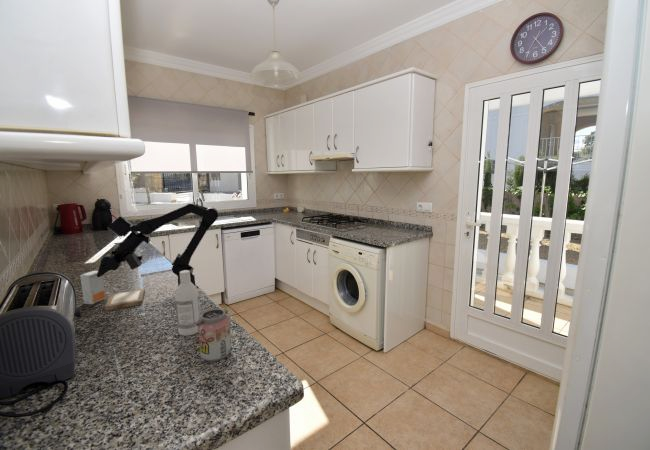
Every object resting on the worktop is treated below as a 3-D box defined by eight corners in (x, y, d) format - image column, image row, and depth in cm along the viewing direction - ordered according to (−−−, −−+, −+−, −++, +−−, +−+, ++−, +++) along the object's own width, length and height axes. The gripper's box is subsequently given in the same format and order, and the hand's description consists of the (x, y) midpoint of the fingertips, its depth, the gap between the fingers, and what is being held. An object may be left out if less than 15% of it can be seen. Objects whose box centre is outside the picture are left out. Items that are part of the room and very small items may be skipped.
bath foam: (191, 323, 102) (185, 267, 99) (206, 327, 99) (201, 269, 96) (173, 333, 96) (167, 273, 92) (189, 338, 93) (183, 276, 90)
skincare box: (92, 304, 119) (88, 275, 117) (83, 303, 120) (79, 275, 118) (106, 298, 125) (102, 270, 123) (98, 297, 126) (93, 270, 124)
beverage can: (193, 353, 85) (189, 313, 83) (220, 341, 91) (217, 303, 89) (209, 367, 79) (205, 324, 77) (237, 352, 85) (234, 312, 83)
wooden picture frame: (145, 292, 131) (144, 288, 131) (142, 304, 119) (141, 300, 118) (111, 297, 126) (111, 293, 125) (105, 310, 113) (104, 306, 113)
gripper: (142, 262, 117) (112, 293, 116) (152, 251, 135) (126, 277, 133) (116, 244, 114) (85, 275, 112) (129, 235, 131) (102, 262, 129)
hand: (101, 273), depth 121 cm, fingers open, 9 cm apart
